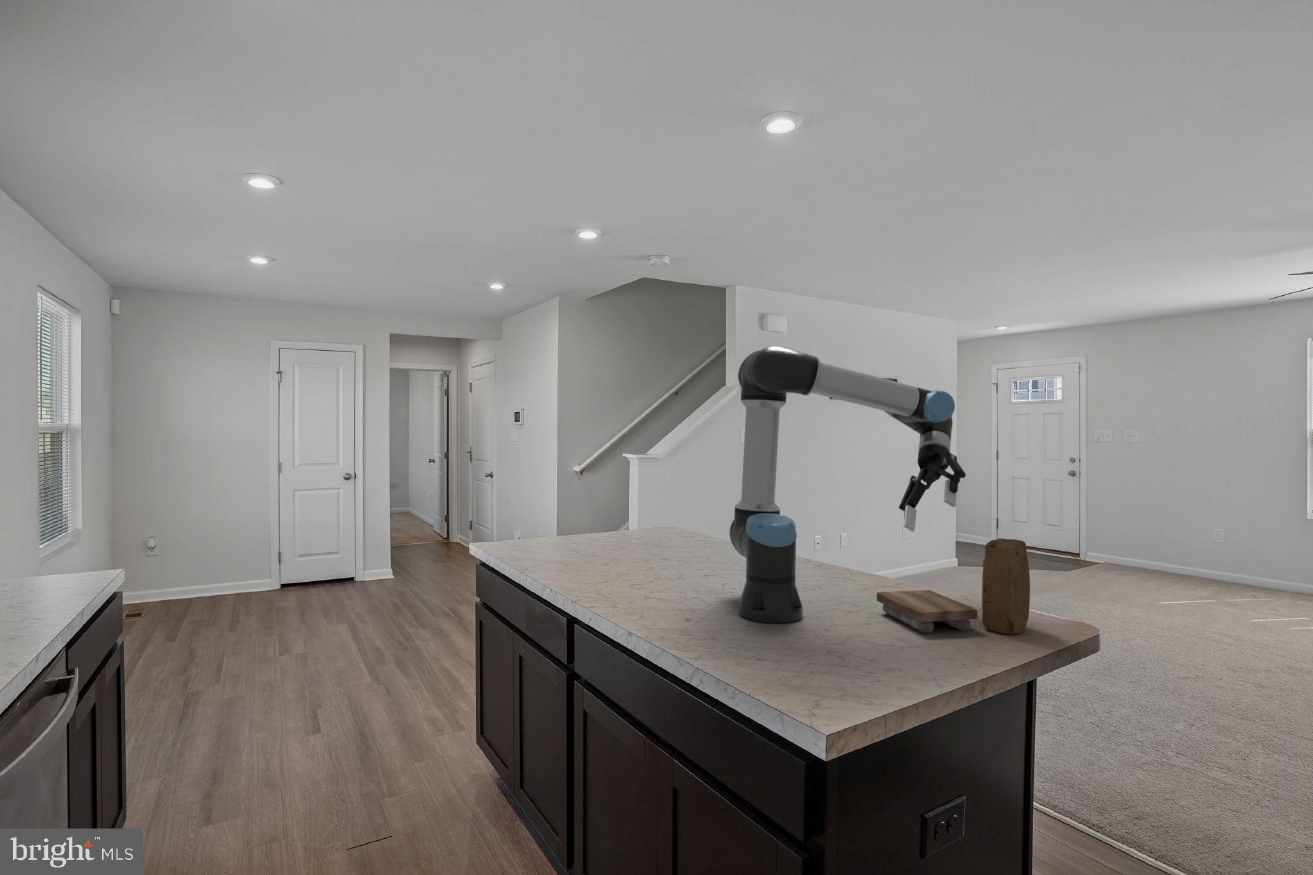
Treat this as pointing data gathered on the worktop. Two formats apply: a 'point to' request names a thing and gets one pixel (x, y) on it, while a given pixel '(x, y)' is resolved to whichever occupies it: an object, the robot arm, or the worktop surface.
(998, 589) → the block
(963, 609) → the slab
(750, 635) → the worktop surface
